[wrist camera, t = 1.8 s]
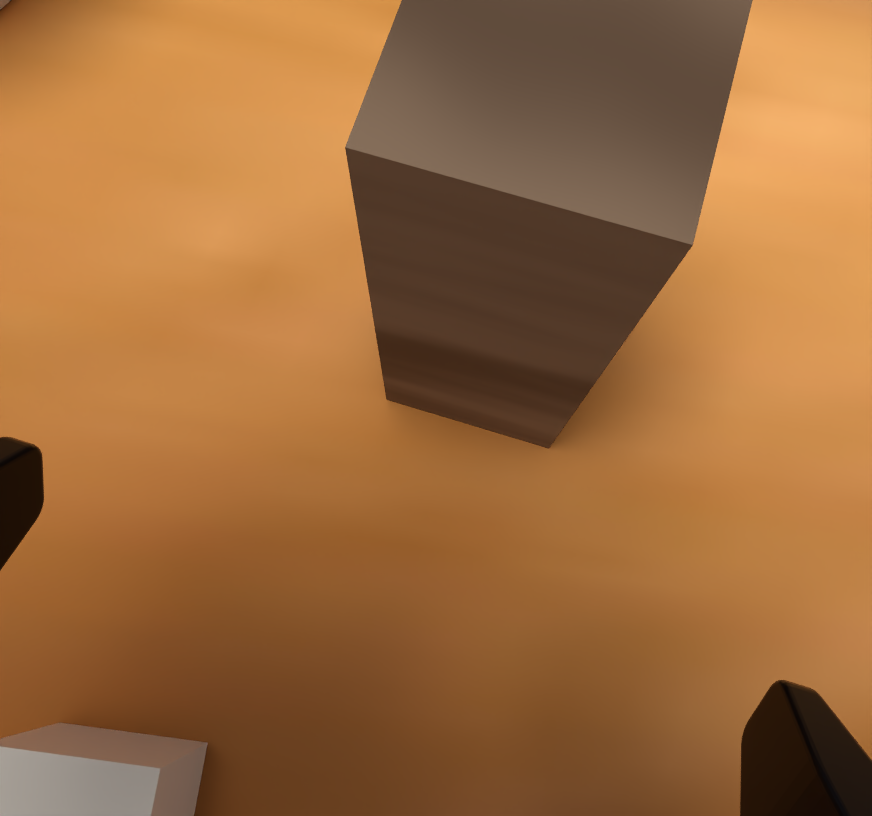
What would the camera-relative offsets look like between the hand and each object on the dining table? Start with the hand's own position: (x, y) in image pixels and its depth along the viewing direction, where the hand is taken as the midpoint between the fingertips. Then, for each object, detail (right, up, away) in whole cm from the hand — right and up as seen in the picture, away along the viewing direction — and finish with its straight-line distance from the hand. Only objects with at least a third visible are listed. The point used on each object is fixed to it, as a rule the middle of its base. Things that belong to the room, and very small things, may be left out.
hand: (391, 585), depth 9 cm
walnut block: (+2, +4, +15) cm, 15 cm away
